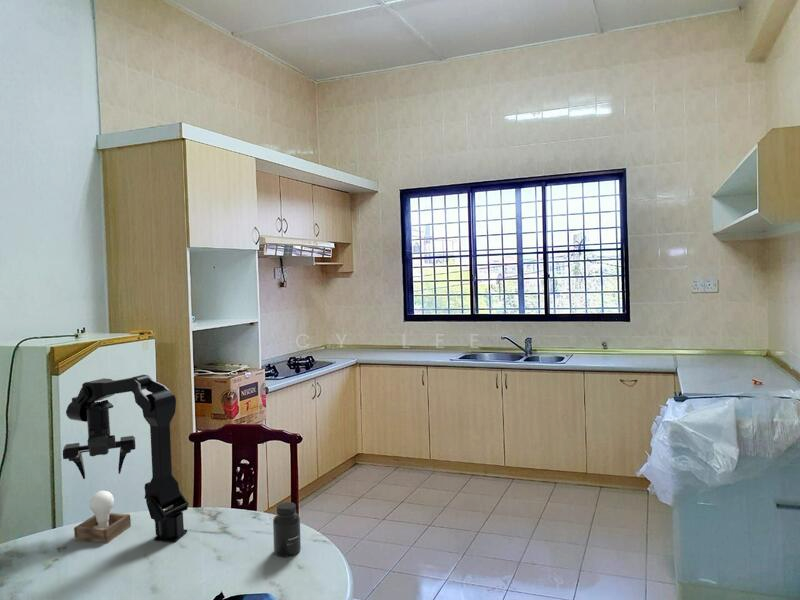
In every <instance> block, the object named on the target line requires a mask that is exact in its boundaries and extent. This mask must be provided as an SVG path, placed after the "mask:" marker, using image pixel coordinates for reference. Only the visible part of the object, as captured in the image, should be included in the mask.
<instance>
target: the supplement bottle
mask: <svg viewBox="0 0 800 600" xmlns="http://www.w3.org/2000/svg"><path fill="white" fill-rule="evenodd" d="M296 506H297V505H296V503H295V502H290V501H283V502H281V503H279V504H277V506H276V513H275V514H276V515H275V516H274V517H273V519H272V527H273V528H272V530H273V531H272V532H273V552H274V554H275V555H276V556H278V557H291V556H295V555H297V554H298V553H299V552H300V551H301V548H302V547H301V546H302V545H301V544H302V543H301V540H302V539H301V537H302V536H301V535H302V534H301V518H300V515H299V514H298V513H297V509H296V508H297V507H296Z"/></svg>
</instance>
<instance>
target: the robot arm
mask: <svg viewBox="0 0 800 600" xmlns="http://www.w3.org/2000/svg"><path fill="white" fill-rule="evenodd" d="M144 390H146V391H147V392H149V393H148V394H144V393H143V392H142V391H144ZM130 392H131V393H132V394H133V397H134V402H135V404H137V406H138V407H139V408H140V409H141V410H142V414H143V419H145V421H146V422H147V424H148V425H149V428H150V429H149V431H150V450H151V451H150V452H151V454H150V455H151V470H152V471H151V472H152V473H151V474H152V475H151V480H150V481H148V482H146V483H145V484H144V487H143V488H144V499H145V502H146V506H147V510H148V512H149V516H150V519H151V520H153V522H154V526H155V527H154V528H155V537H154V538H153V541H156V542H158V541H159V542H169V543H175V542H177V541H178V540H179V539H180V538H181V537H183V536H184V535H186V533H188V529H185V528H184V526H185V525H184V513H183V512H185V511H187V510H188V508H189V502H188V501H187V499H186V497H185V496H184V494H183V493H182V492H181V491H180V486H179V482H178V481H177V479H176V477H174V475H173V468H172V466H173V465H172V464H173V463H172V447H171V445H172V444H171V442H172V441H171V423H172V420H173V418H174V416H175V413H176V407H177V397H176V394H175V395H174V393H173V392H172V391H171V390H170V389H169V388H168V387H167V386H165V384H162V383H161V382H158V381H157V380H156V381H155V380H154V379H152V377H150V376H149V375H148V374H141V375H137V376H132V377H127V378H122V379H116V380H113V379H112V378H99V379H95V380H92V381H91V380H90V381H85V382H83V383H82V385H81V388H80V390H79V393H78V394H77V396H76V397H75V396H74V397H72V398H71V402H69V404H68V405H67V408H66V411H65V414H66V416H67V418H68V419H69V420H71V421H72V420H73V421H78V422H85V423H86V424H87V436H88V437H87V444H86V445H81V444H80V442H75V443H67V444H65V445H64V446H63V449H62V459H63V460H68V461H69V462H73V463H74V464H75V465H76V467H77V468H78V470H79V473H80V475H81V477H82V479H83V480H85V479H86V471H85V465H84V459H83V453H89V457H95V456H102V455H103V456H105V455H108V453H110V451H109V450H111V449H118V448H119V455H118V456H119V458H118V466H117V467H118V468H117V469H118V475H120V474H121V472H122V468H123V464H124V461H125V458H126V456H127V454H129V453H131V452H132V451H133V450H136V437H135V436H134V435H127V436H121V437H120V438H119V439H120V440H116V436H115V434H114V435H111V425H110V423H111V421H110V410H109V409H113V408H114V405H113V404H112V403H111V402H110V401H109V400H108V398H110V397H112V396H115V395H116V394H124V393H130Z"/></svg>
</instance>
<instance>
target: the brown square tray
mask: <svg viewBox="0 0 800 600" xmlns="http://www.w3.org/2000/svg"><path fill="white" fill-rule="evenodd" d="M108 521H109V522H108V524H109V525H108V527H107V528H98V522H97V520H96V516H95V514H94V515H93V516H91V517H89V518H87V519H86V520H85V521H83V522H81V523H79V524H78V525H76V526H75V527H74V528H73V531H74V533H73V534H74V541H80V542H89V543H90V542H93V543H105V544H106V543H110V542H112V541H113V540H114V539H115V538H117V537H118V536H120V535H121V534H123V533H124V532H125V531H127V530H128V529H129V528H130V527H132V525H131V521H132V520H131V514H129V513H128V514H127V513H126V514H125V513H114V512H110V514H109V520H108Z"/></svg>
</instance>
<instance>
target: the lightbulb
mask: <svg viewBox="0 0 800 600" xmlns="http://www.w3.org/2000/svg"><path fill="white" fill-rule="evenodd" d="M114 503H115V498H114V495H113V494H112V493H111V492H110V491H107V490H99V491H96V492H95V493H93V494H92V495H91V498H90V499H89V503H88V504H89V508H90V510H91V511H92V513H93V514H94V515H95V516H96V520H97V522H98V528H107V527H108V525H109V524H108V522H109V521H108V520H109V514H110V513H111V511H112V509H113V507H114Z"/></svg>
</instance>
